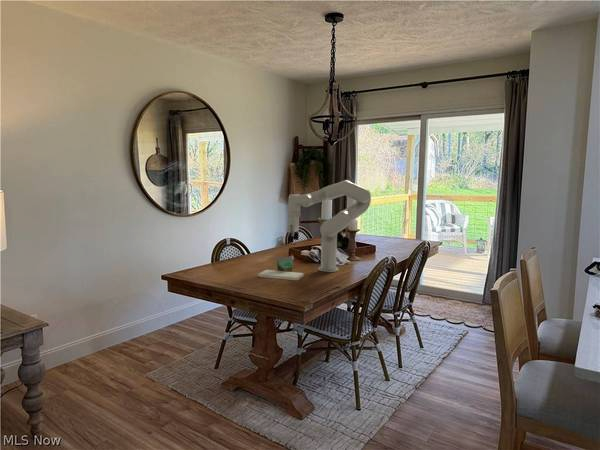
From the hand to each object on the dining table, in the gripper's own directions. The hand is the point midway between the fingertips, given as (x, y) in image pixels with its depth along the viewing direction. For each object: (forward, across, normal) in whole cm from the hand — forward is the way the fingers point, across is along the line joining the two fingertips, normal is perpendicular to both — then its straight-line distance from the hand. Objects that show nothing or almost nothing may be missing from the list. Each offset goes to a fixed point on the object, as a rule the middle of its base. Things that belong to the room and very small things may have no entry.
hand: (293, 240), depth 258 cm
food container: (+18, +12, +1) cm, 22 cm away
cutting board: (+18, +22, +1) cm, 28 cm away
